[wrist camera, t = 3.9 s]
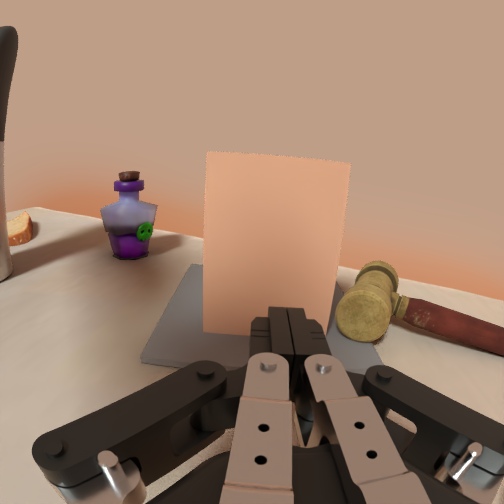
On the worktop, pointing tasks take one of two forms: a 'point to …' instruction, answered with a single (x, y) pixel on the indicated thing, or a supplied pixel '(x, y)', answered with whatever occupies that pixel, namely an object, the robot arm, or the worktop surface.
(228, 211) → the tile
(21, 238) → the slice of bread
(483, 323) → the gavel
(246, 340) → the mat
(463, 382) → the worktop surface
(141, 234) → the potion bottle
